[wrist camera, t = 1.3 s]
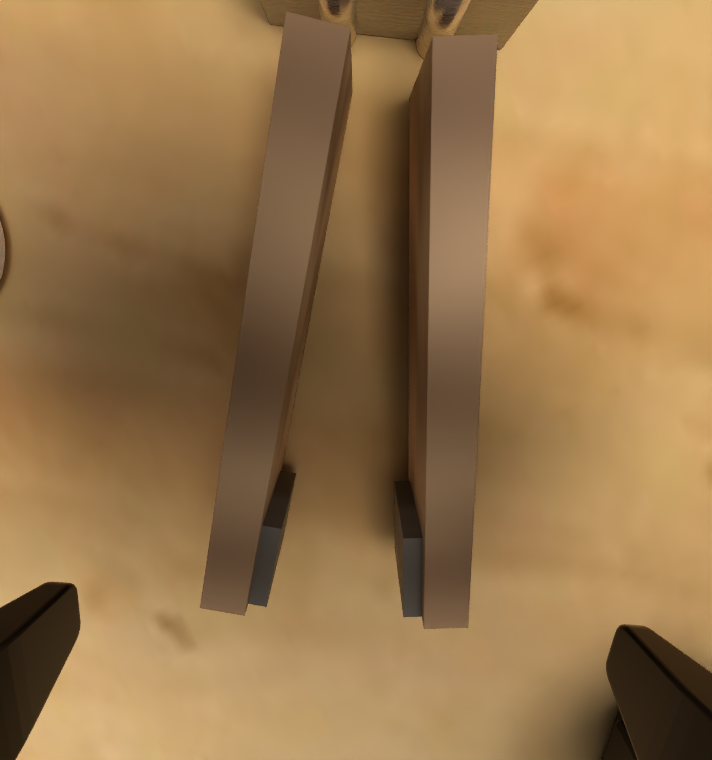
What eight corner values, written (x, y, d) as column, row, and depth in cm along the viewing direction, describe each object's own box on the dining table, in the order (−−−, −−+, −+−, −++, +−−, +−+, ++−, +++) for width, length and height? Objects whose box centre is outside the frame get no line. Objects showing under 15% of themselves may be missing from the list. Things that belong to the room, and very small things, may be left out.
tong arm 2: (307, 81, 14) (286, 11, 10) (371, 96, 14) (377, 34, 10) (235, 522, 19) (199, 608, 14) (284, 532, 19) (263, 619, 14)
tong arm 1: (389, 98, 14) (404, 37, 10) (455, 96, 14) (497, 34, 10) (393, 540, 19) (405, 629, 15) (442, 539, 19) (468, 627, 15)
